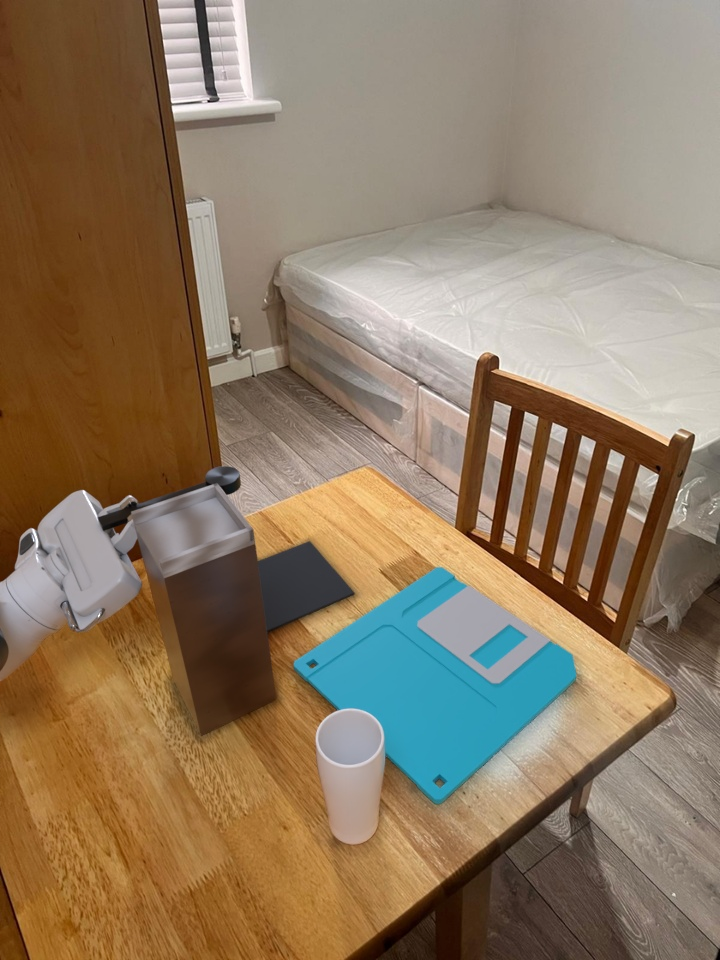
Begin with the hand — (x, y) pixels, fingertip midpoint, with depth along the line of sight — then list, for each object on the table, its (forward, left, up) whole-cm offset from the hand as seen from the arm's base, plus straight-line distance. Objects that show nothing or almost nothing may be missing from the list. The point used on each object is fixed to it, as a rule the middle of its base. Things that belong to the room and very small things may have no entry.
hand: (140, 507), depth 89 cm
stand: (+3, -13, -22) cm, 26 cm away
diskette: (+28, -25, -22) cm, 43 cm away
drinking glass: (+8, -37, -22) cm, 44 cm away
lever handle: (+3, 0, -1) cm, 3 cm away
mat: (+14, 0, -22) cm, 26 cm away
